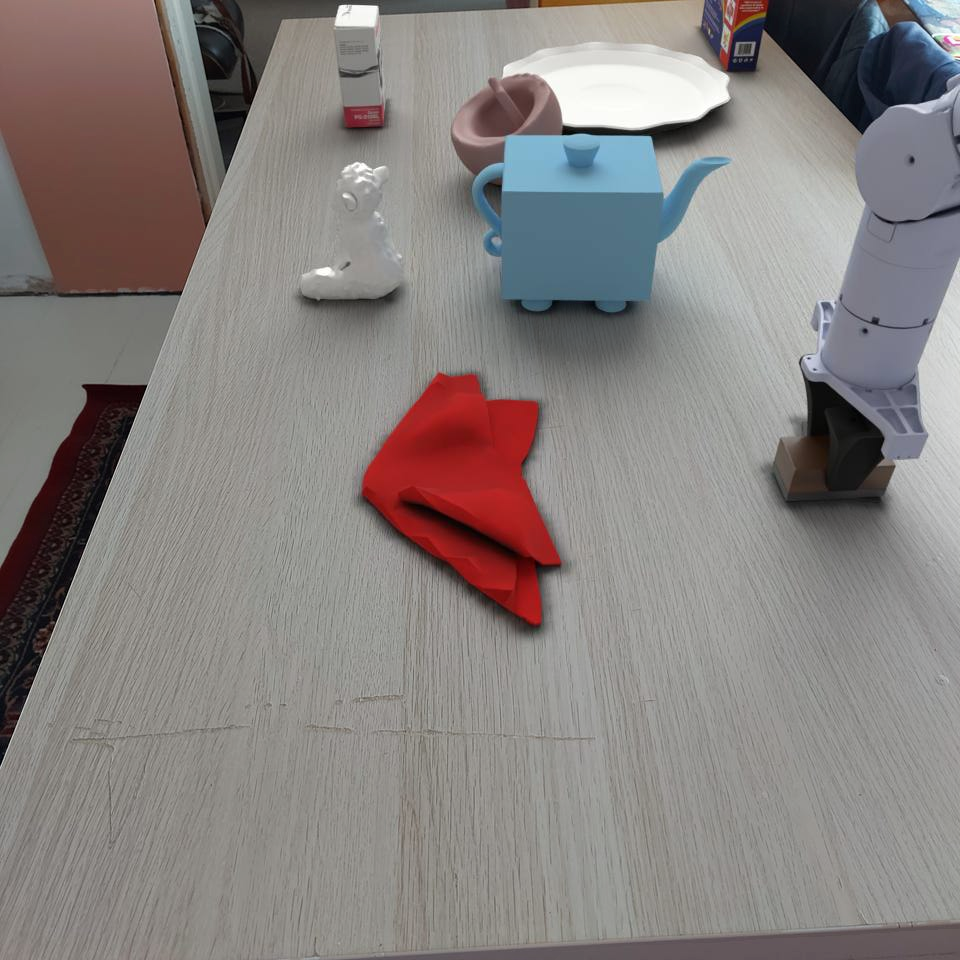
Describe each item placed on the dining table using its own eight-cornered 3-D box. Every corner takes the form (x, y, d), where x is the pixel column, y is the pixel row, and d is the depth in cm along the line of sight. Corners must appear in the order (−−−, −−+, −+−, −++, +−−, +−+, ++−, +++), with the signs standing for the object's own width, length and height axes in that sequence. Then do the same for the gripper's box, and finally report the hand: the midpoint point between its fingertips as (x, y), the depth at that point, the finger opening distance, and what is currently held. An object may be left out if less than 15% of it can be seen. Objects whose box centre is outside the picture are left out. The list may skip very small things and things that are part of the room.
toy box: (755, 70, 125) (773, -24, 117) (726, 71, 125) (742, -23, 117) (727, 27, 138) (741, -60, 130) (700, 28, 138) (713, -59, 130)
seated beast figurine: (353, 251, 91) (339, 132, 82) (428, 271, 88) (421, 149, 79) (297, 297, 85) (275, 173, 76) (375, 320, 82) (361, 194, 73)
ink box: (384, 127, 113) (375, 25, 104) (344, 128, 113) (332, 26, 104) (387, 100, 119) (378, 2, 111) (349, 101, 119) (337, 3, 111)
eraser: (866, 463, 67) (877, 432, 65) (883, 497, 64) (896, 465, 62) (771, 467, 66) (780, 436, 64) (785, 501, 64) (794, 470, 62)
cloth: (374, 378, 75) (372, 355, 74) (540, 374, 75) (541, 351, 74) (347, 632, 56) (343, 609, 55) (568, 627, 57) (570, 604, 55)
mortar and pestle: (434, 170, 104) (429, 66, 96) (526, 148, 107) (528, 46, 100) (483, 214, 96) (481, 104, 88) (580, 189, 100) (587, 81, 92)
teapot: (470, 315, 82) (466, 167, 72) (476, 252, 90) (474, 112, 80) (717, 318, 81) (746, 169, 71) (701, 254, 89) (725, 113, 80)
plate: (451, 107, 117) (450, 88, 115) (585, 45, 133) (586, 28, 131) (644, 170, 103) (646, 149, 101) (769, 92, 119) (772, 73, 117)
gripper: (787, 244, 60) (748, 405, 70) (865, 377, 50) (807, 545, 59) (892, 240, 60) (839, 401, 70) (992, 372, 50) (914, 540, 59)
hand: (831, 467), depth 64 cm, fingers closed on eraser, 3 cm apart
